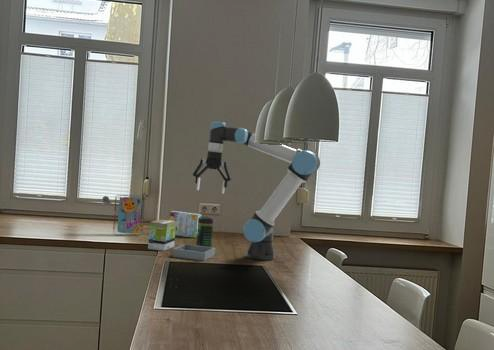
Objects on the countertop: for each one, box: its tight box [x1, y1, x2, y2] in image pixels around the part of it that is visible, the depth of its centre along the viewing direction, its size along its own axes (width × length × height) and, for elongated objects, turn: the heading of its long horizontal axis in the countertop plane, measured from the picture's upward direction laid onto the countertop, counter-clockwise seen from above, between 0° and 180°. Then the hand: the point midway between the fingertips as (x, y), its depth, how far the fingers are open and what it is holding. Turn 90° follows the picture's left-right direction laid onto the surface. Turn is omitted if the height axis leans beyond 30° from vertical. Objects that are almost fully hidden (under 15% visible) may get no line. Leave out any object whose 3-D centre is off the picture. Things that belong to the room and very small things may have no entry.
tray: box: [172, 243, 217, 262], centre depth 266 cm, size 17×17×4 cm
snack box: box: [168, 210, 202, 239], centre depth 329 cm, size 21×6×15 cm, turn 65°
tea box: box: [147, 219, 176, 252], centre depth 281 cm, size 15×10×15 cm, turn 168°
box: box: [102, 194, 146, 237], centre depth 312 cm, size 25×6×24 cm, turn 113°
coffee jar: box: [196, 215, 214, 247], centre depth 285 cm, size 10×8×19 cm
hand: (210, 191), depth 268 cm, fingers open, 13 cm apart
